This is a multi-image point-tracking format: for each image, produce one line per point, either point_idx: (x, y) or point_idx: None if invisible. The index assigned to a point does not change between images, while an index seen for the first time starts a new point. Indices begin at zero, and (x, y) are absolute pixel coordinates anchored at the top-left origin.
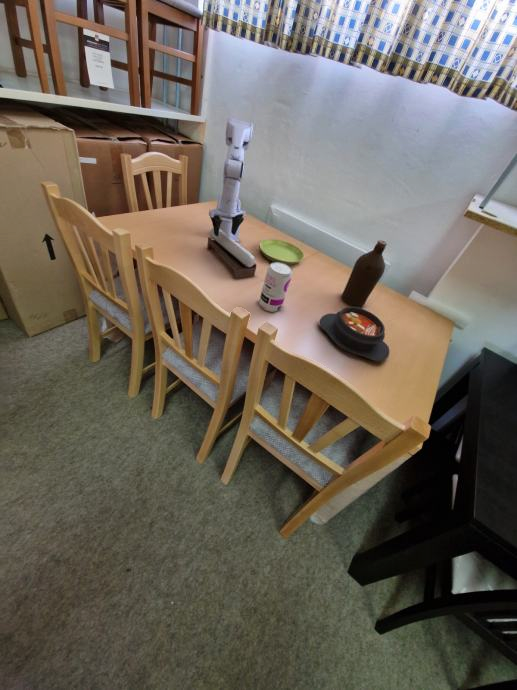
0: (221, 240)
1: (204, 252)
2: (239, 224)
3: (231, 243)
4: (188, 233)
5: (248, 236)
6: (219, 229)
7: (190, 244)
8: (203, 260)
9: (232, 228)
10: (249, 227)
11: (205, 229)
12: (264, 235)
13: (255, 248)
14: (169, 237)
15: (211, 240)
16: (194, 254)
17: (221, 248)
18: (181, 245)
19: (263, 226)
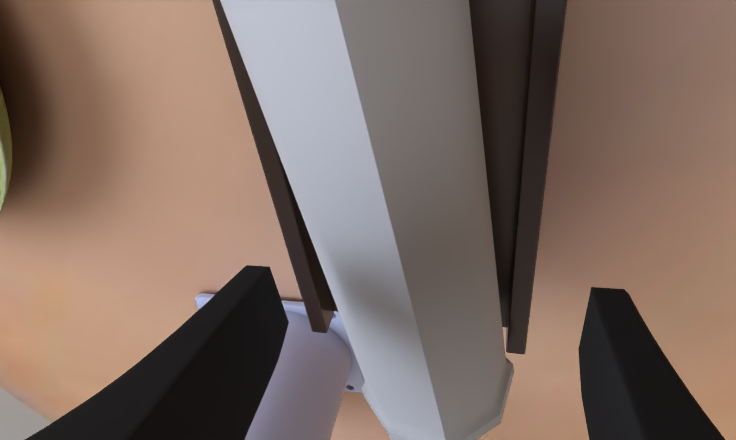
0: (476, 241)
1: (586, 221)
2: (80, 422)
3: (393, 79)
4: (536, 431)
5: (116, 322)
6: (403, 410)
7: None
8: (721, 86)
9: (254, 378)
10: (99, 386)
11: None
12: (5, 308)
13: (76, 188)
14: (725, 433)
15: (528, 305)
16: (724, 210)
17: None
18: (722, 345)
19: (14, 375)
